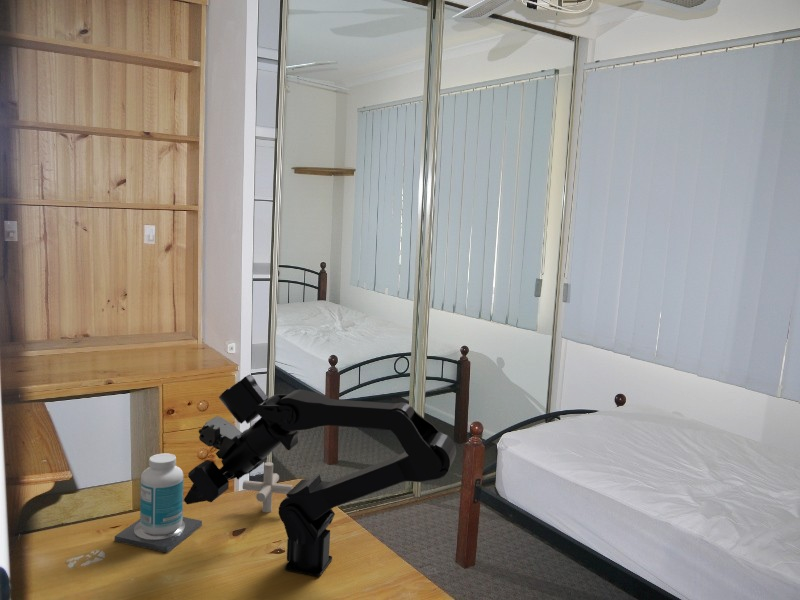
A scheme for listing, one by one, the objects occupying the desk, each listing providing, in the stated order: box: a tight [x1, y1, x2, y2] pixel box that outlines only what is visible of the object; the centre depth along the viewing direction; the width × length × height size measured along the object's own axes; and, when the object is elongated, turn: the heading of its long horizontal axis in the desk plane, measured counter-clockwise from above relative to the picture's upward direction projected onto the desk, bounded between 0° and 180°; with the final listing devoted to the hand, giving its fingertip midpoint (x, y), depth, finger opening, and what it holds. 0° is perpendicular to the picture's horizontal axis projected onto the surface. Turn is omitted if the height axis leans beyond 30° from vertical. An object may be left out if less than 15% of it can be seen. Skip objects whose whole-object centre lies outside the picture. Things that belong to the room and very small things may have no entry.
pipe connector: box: [242, 461, 294, 514], centre depth 135 cm, size 10×10×10 cm
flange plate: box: [114, 516, 203, 554], centre depth 124 cm, size 11×11×1 cm
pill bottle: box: [139, 452, 184, 535], centre depth 123 cm, size 8×7×14 cm
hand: (200, 491), depth 121 cm, fingers open, 9 cm apart
